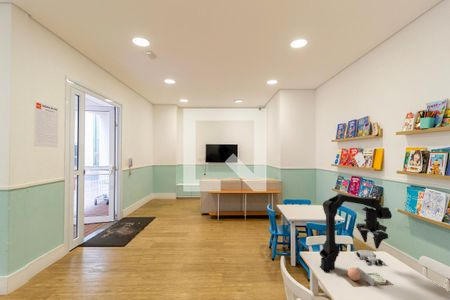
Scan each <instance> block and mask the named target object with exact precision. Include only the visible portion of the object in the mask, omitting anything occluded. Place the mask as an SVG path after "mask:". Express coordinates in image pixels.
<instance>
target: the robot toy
mask: <svg viewBox="0 0 450 300" xmlns="http://www.w3.org/2000/svg"><path fill="white" fill-rule="evenodd" d="M353 252H354V253H355V255H356V256H357V258H359V259H360V260H363V261H364V260H365V264H366V265H370V264H371V265H373V266H378V265H383V266H384V265H386V262H384V261H383V260H381V259H378V258H377V255H376V254H375V252H373V250H367V249H359V250H356V251H355V250H353Z"/></svg>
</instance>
